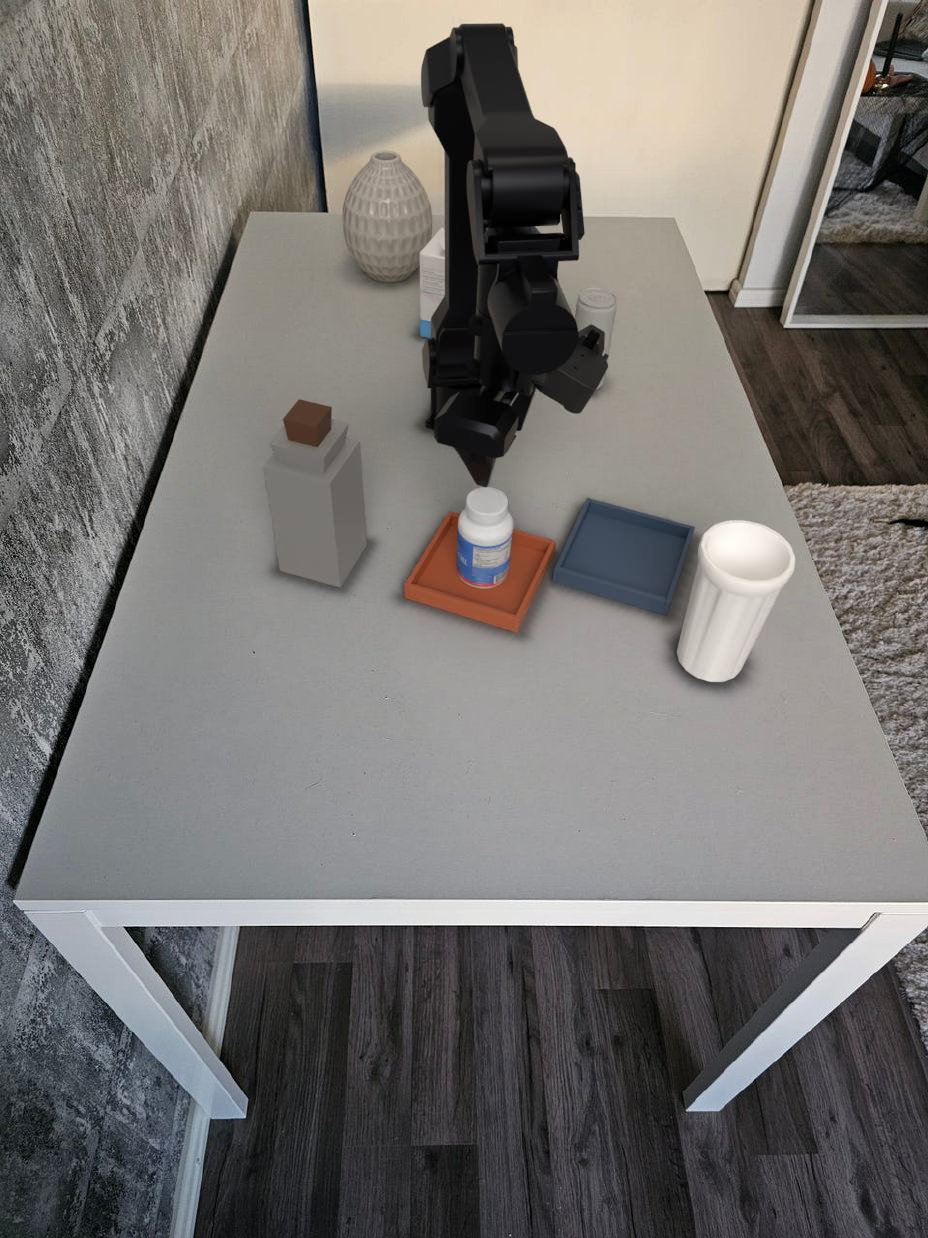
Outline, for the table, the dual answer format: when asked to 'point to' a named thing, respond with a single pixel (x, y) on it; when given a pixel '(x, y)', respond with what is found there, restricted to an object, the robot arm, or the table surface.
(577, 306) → the beverage can
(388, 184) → the vase
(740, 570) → the cup
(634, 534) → the slate tray
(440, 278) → the ink box
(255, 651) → the table surface
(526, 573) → the terracotta tray
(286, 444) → the perfume bottle
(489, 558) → the pill bottle
